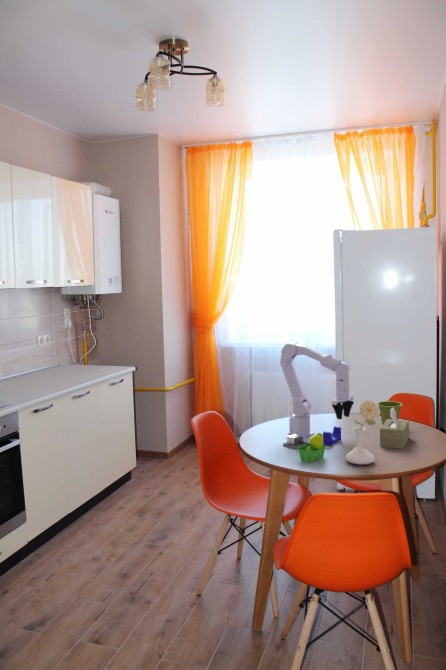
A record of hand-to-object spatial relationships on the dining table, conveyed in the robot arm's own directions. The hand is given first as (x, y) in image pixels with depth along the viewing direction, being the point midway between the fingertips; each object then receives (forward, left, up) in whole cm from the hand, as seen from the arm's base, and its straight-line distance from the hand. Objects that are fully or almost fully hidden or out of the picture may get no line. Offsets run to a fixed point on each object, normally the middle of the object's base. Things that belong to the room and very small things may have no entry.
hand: (343, 417), depth 251 cm
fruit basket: (+8, -34, -10) cm, 36 cm away
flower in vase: (+25, -25, -10) cm, 37 cm away
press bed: (-5, -23, -9) cm, 25 cm away
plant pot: (+6, +32, -10) cm, 34 cm away
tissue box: (+21, +9, -10) cm, 25 cm away
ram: (-10, -23, -9) cm, 27 cm away
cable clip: (0, -10, -10) cm, 14 cm away
